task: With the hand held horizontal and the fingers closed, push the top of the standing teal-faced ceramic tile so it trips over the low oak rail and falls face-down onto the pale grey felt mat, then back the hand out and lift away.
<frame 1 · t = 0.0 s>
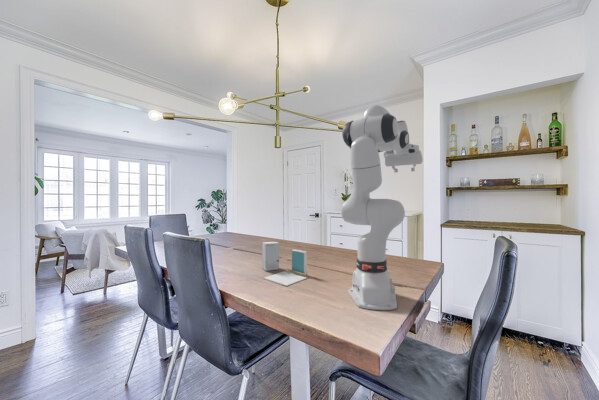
hand: (404, 171, 147), 54 cm above the table, tool tilted 30°, fingers open, 8 cm apart
mat: (285, 278, 122), on the table
skincare box: (270, 269, 139), on the table
rail: (296, 274, 128), on the table
tile: (299, 273, 130), on the table
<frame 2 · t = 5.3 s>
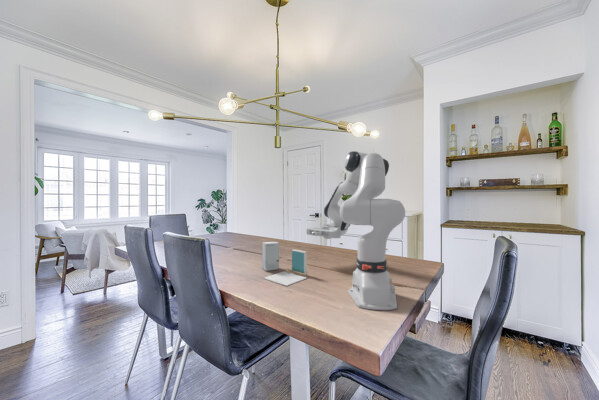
hand: (313, 234, 138), 19 cm above the table, tool horizontal, fingers closed
nothing on the table moved.
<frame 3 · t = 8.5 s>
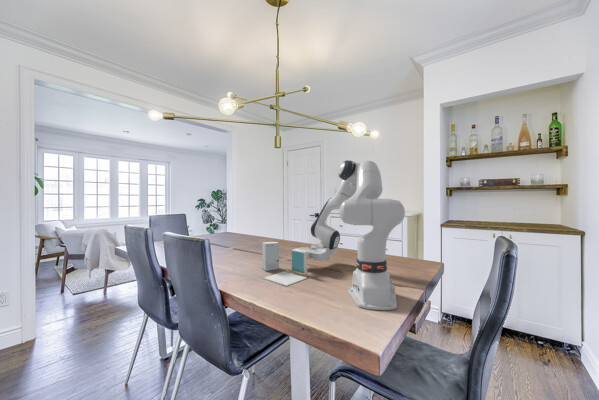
hand: (300, 256, 130), 9 cm above the table, tool horizontal, fingers closed
tile: (299, 273, 130), on the table, touching gripper
everything else where it was.
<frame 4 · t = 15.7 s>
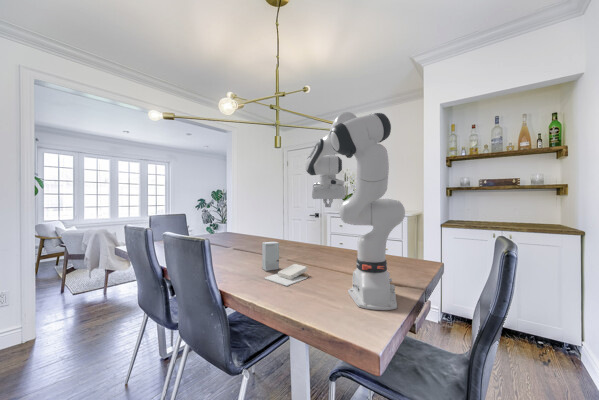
hand: (328, 207, 136), 34 cm above the table, tool pointing down, fingers closed
tile: (300, 267, 130), point 3 cm above the table, tilted 98°, touching mat, rail
everything else where it was.
at the end: tile tilted 98°; tile 11.3 cm from the mat (horizontally); tile point 3.2 cm above the table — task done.
